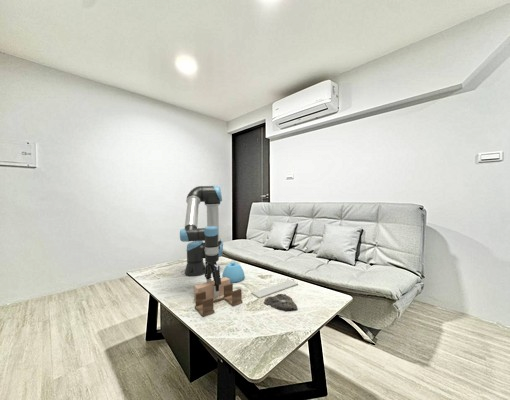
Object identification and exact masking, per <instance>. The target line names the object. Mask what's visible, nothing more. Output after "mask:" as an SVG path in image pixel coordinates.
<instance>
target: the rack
mask: <svg viewBox="0 0 510 400" xmlns="http://www.w3.org/2000/svg"><path fill="white" fill-rule="evenodd" d="M233 285H234V283H230V284H228V285H224V295H223V296H222V297H221V298H218V299H217V298H216V299H215V300H214V298H209V299H206V292H205V291H203V292H200V293H196V294H195V296H196V301H195V305H194V309H195V310H196V311H197V312H198V314H200V315H201V317H202V318H203V317H204V318H205V317H206V316H210V315H211V314H215V313H216V312H215V309H214V304H215V303H218V302H221V301H225V302H226V303H227V304H229V305H230V306H232V307H234V306H237V305H240V304H243V301H244V300H243V298H242V297H243V296H242V288H238V289H236V290H235V289H234V286H233Z"/></svg>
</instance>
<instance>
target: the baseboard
mask: <svg viewBox="0 0 510 400" xmlns="http://www.w3.org/2000/svg"><path fill="white" fill-rule="evenodd" d="M298 285H299V283H298V282H296V281H295V279H293V278H291V279H289V278H288V279H287V280H285V281H282V282H280V283H277V284H273V285H271V286H267V287H263V288H261V289H258V290H254V291H251V292H250V294H251V295H253V296H254V297H256V298H257V299H258V300H259V299H260V300H261V299H263V298H265V297H266V298H267V297H269V296H272V295H274V294H276V293H280V292H282V291H285V290H287V289H291V288H293V287H297V286H298Z"/></svg>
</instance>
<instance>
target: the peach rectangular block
mask: <svg viewBox="0 0 510 400" xmlns="http://www.w3.org/2000/svg"><path fill="white" fill-rule="evenodd" d="M220 278H221V284H220V285H219V296H218V297H220V296H224V285H228V284H231V283H230V279H229V278H227V277H223V278H222V277H220ZM214 285H215V284H214V279H213V280H211V281H209V282H207V281H206V282H203V283H199V284H196V285H193V298H194V301H195V302H196V296H195V294H196V293H200V292H203V291H205V292H206V299H209V298H213V299H216V297H214Z"/></svg>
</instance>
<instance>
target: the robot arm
mask: <svg viewBox="0 0 510 400" xmlns="http://www.w3.org/2000/svg"><path fill="white" fill-rule="evenodd" d="M201 202H202V203H204V205H205V207H206V224H207V226H205V227H202V228H199V227H198V221H199V219H198V218H199V207H200V206H199V205H200V204H201ZM221 202H223V197H222V191H221V187H220V186H218V185H204V186H203V185H198V186H196V187H194V188H192V189H191V190H190V191H189V192H188V194H187V195H186V203H187V205H186V214H185V220H184V221H185V222H184V228H182V229H180V230H179V231H180V232H179V240H180V241H181V242H184V243H185V242H189V243H187V245H186V267H185V269H184V275H185V274H186V275H185V276H187V275H188V277H199V276H202V275H204V278H205V280H206V282H209V281H212V278H213V280H214V284H215V285H214V297H215V298H218V297H220V296H219V285H220V284H221V278H222V277H221V272H220V265H218V264H217V262H219V259H220V258H221V257H222V256H223V249H224V242H223V240H222V238H220V225H219V224H220V223H219V222H220V220H219V218H220V217H219V206H220V205H221ZM204 261H205V262H204Z"/></svg>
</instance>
